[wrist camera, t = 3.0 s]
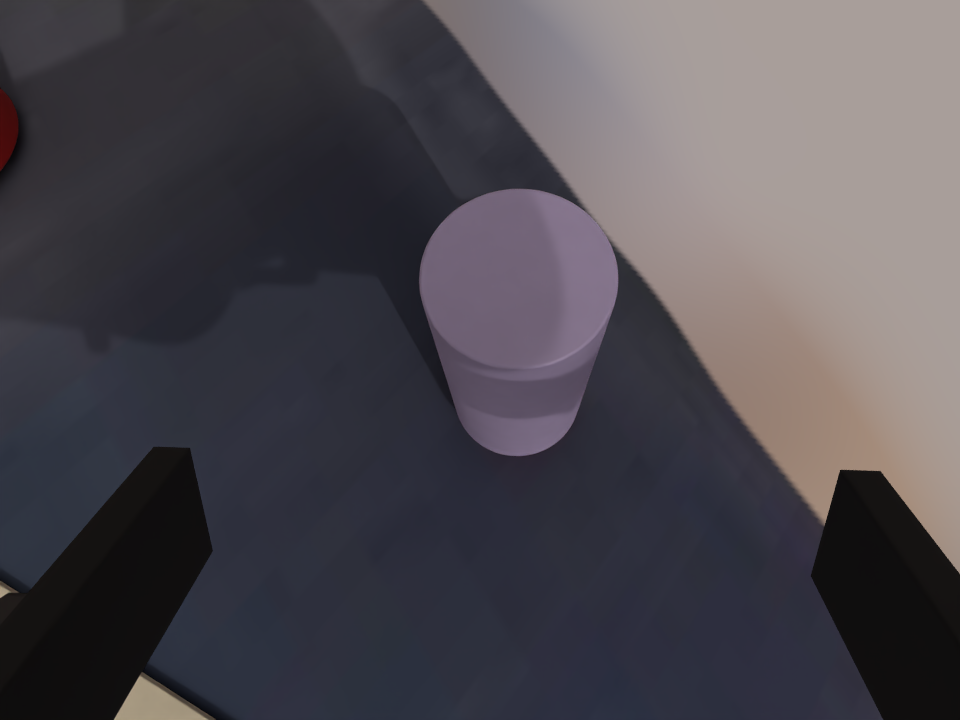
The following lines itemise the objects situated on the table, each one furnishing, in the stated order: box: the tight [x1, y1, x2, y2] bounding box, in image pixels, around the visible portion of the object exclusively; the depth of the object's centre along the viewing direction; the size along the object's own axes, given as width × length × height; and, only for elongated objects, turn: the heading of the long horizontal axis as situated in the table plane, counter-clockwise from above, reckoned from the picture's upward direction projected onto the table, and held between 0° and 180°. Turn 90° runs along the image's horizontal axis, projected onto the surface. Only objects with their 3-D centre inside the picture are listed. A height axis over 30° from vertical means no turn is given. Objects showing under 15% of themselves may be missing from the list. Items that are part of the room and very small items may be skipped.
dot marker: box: [419, 189, 618, 456], centre depth 21 cm, size 4×4×11 cm
